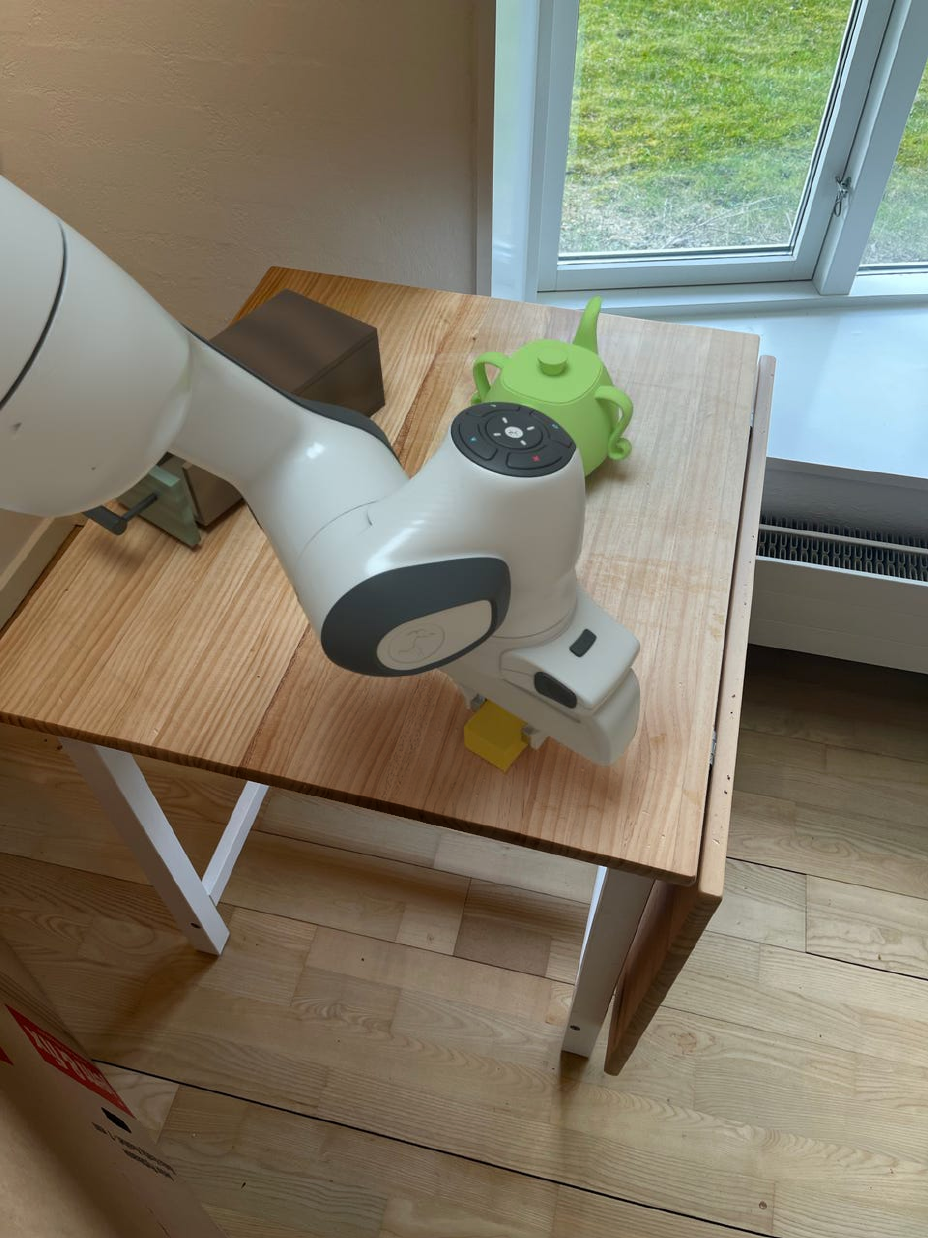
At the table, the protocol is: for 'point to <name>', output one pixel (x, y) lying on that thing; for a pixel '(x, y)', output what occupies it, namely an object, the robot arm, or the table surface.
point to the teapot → (564, 389)
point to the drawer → (172, 500)
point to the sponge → (495, 735)
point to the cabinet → (309, 351)
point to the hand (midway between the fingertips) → (506, 722)
